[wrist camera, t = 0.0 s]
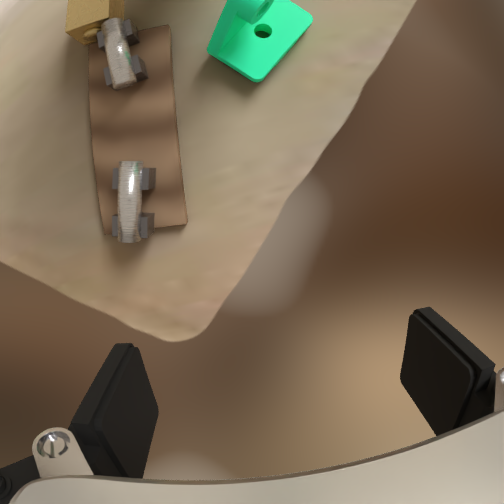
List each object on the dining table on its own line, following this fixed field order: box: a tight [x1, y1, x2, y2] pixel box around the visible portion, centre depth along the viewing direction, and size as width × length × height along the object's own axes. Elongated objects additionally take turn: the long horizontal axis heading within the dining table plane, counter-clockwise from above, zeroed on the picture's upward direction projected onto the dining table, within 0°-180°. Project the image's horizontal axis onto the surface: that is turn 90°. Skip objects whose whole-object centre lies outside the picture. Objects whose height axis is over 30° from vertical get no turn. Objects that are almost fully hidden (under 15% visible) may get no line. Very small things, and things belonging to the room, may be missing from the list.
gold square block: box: [65, 0, 124, 45], centre depth 29 cm, size 7×6×6 cm
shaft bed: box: [89, 25, 188, 234], centre depth 36 cm, size 26×11×2 cm, turn 6°
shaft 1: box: [96, 18, 149, 91], centre depth 30 cm, size 9×4×5 cm, turn 16°
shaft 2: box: [112, 161, 156, 243], centre depth 35 cm, size 9×4×5 cm, turn 176°
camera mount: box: [207, 0, 313, 82], centre depth 29 cm, size 12×8×10 cm, turn 144°
